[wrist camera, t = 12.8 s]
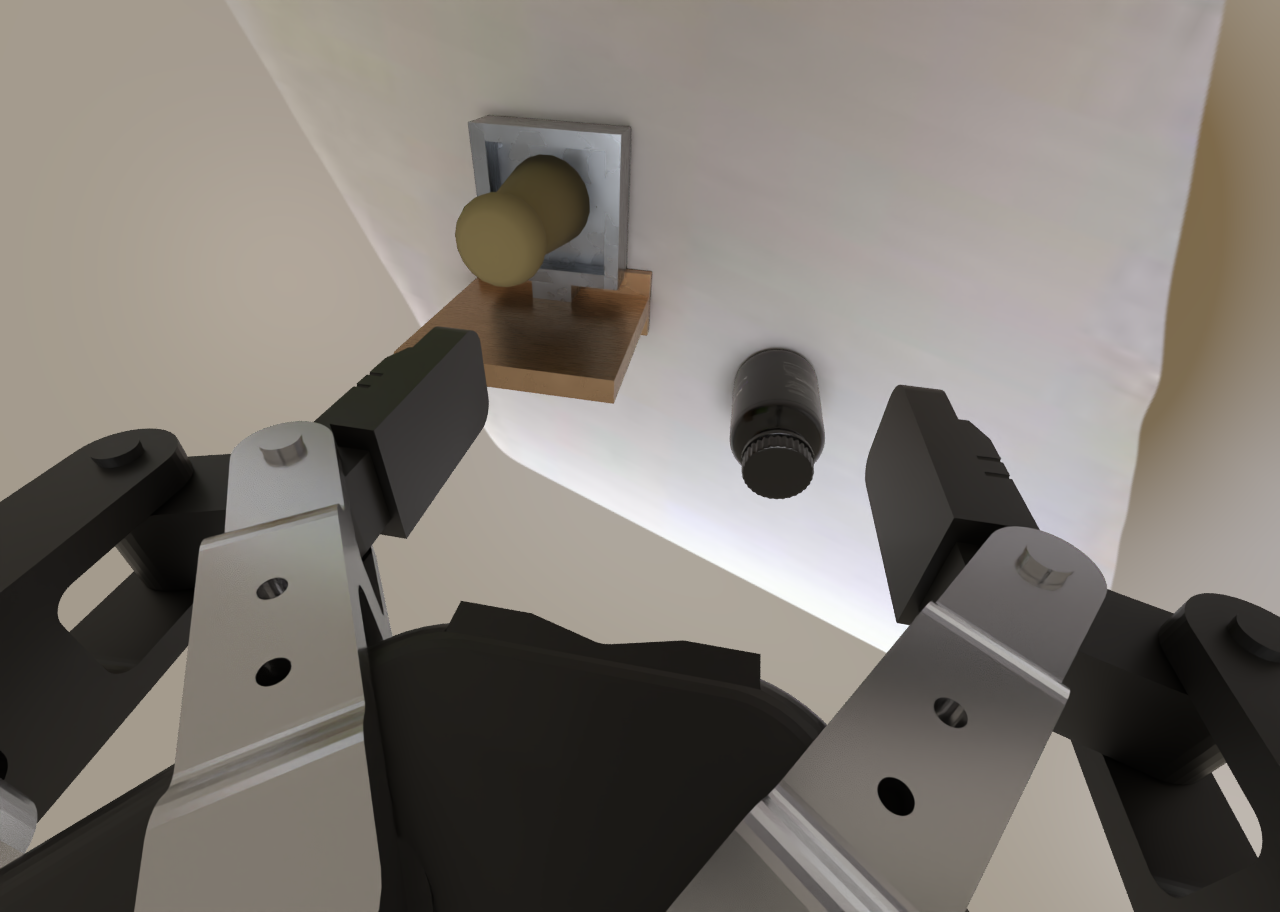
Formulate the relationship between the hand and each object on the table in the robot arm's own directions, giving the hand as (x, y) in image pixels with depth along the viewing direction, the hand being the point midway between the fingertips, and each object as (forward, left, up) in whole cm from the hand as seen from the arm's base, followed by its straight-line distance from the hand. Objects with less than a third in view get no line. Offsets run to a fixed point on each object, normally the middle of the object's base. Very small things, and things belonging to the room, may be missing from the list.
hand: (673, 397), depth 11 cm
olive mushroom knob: (+5, -12, -32) cm, 35 cm away
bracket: (+7, -12, -33) cm, 36 cm away
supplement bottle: (+18, +6, -33) cm, 38 cm away
